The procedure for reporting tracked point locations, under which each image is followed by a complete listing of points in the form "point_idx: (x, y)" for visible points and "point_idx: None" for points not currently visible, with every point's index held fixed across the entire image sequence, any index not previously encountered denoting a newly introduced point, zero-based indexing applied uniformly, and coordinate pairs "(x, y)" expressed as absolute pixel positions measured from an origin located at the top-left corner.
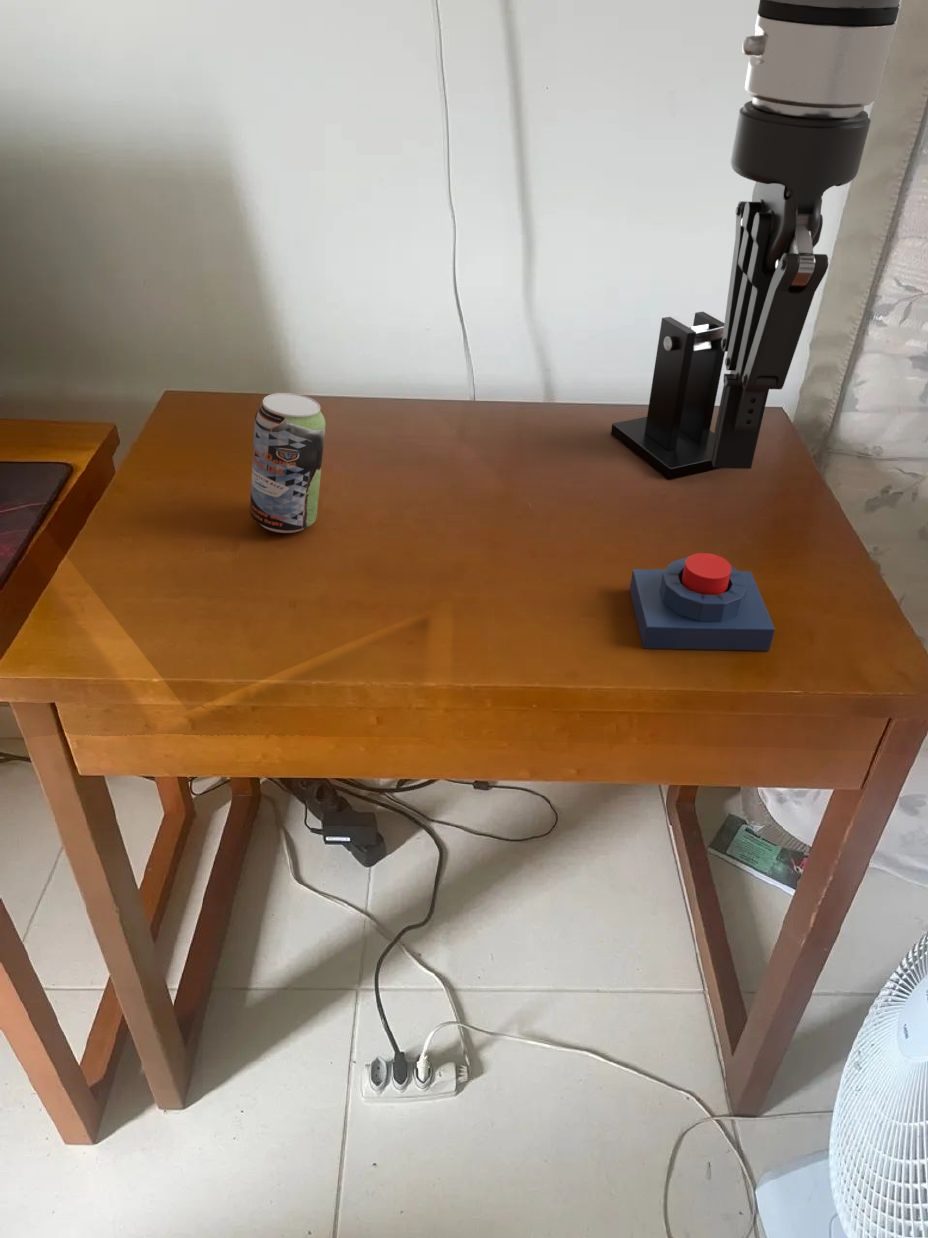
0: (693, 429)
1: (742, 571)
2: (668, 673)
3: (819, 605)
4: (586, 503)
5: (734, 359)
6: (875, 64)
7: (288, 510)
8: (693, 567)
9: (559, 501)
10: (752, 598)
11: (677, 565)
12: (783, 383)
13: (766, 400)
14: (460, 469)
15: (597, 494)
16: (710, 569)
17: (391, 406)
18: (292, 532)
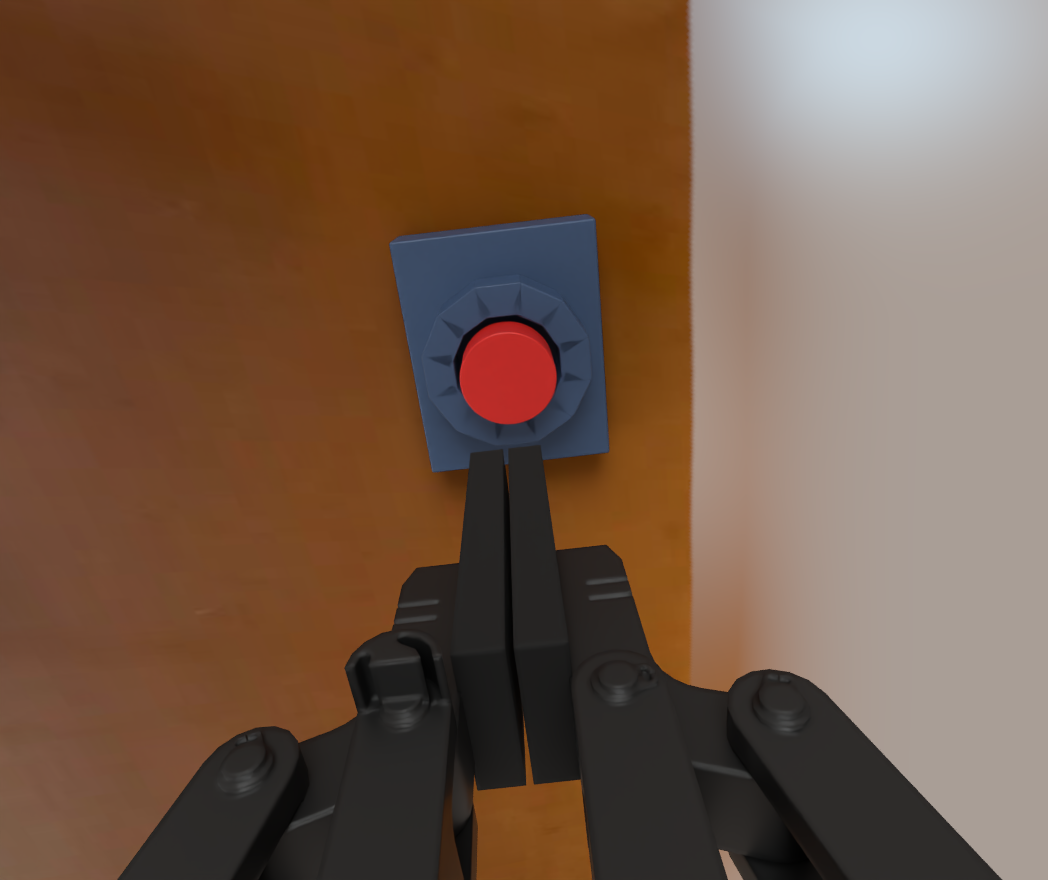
0: None
1: (395, 262)
2: (661, 396)
3: (410, 70)
4: (157, 524)
5: (474, 843)
6: None
7: None
8: (522, 410)
9: (169, 568)
10: (494, 253)
11: (467, 419)
12: (839, 708)
13: (558, 586)
14: (123, 717)
15: (112, 506)
16: (522, 376)
17: None
18: None
